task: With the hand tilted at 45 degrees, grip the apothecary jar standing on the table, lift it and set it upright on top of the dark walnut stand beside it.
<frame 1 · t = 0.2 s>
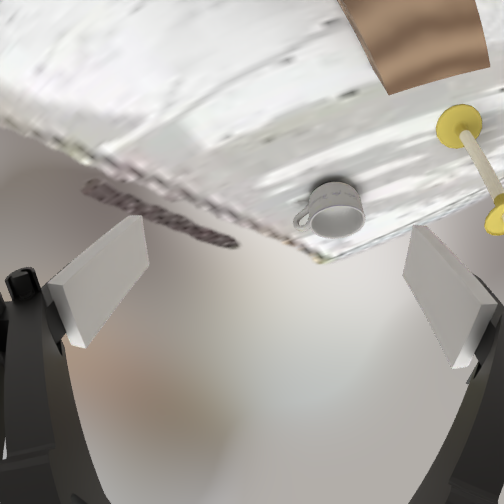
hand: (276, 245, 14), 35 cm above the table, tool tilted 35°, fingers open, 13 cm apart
walnut stand: (401, 8, 27), on the table
teacup: (325, 193, 61), on the table
rod with yellow discs: (459, 126, 41), on the table
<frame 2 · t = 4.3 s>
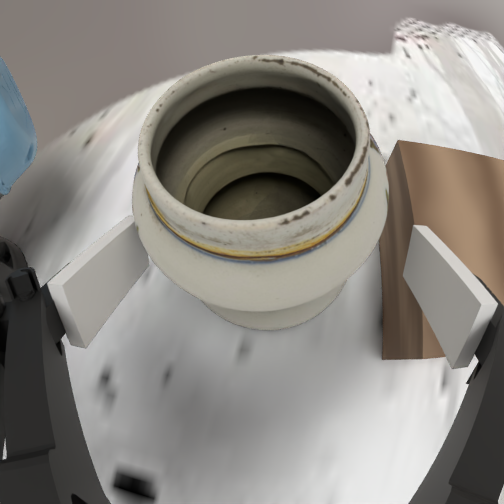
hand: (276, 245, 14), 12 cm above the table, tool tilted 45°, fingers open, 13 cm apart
walnut stand: (453, 270, 25), on the table
apothecary jar: (269, 266, 27), on the table, touching gripper
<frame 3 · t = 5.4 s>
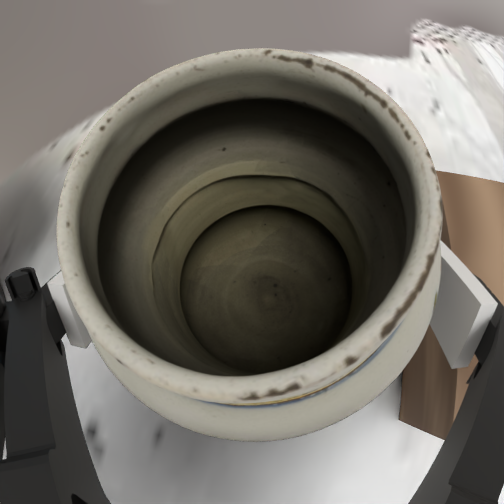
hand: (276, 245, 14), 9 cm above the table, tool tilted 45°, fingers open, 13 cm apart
walnut stand: (480, 314, 20), on the table
apothecary jar: (269, 309, 23), on the table
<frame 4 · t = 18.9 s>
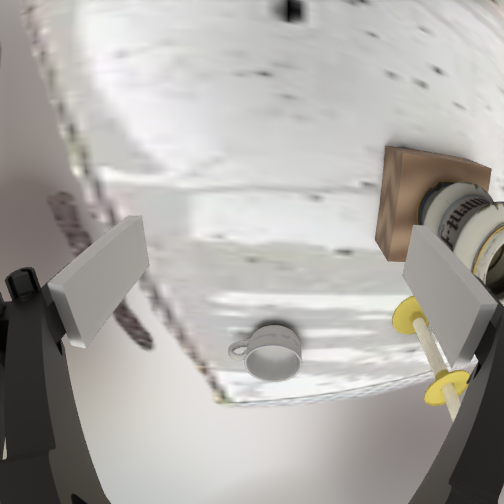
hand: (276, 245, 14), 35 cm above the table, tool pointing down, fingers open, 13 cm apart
walnut stand: (423, 198, 45), on the table
apothecary jar: (443, 212, 38), point 8 cm above the table, touching walnut stand
teacup: (267, 335, 61), on the table
rod with yellow discs: (414, 314, 56), on the table
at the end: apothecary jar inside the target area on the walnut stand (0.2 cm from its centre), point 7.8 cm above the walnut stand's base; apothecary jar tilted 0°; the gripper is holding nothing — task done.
